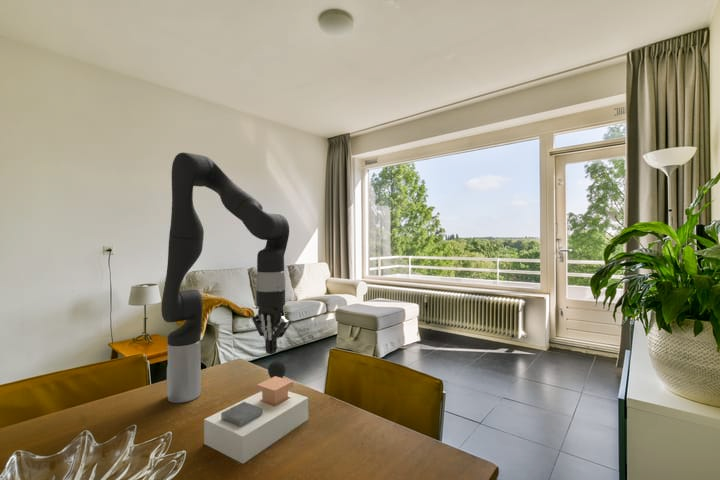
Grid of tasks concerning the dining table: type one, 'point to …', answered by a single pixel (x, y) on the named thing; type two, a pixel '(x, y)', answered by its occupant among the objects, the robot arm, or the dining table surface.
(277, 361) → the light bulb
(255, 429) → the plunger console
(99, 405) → the dining table surface
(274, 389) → the terracotta plunger
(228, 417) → the graphite plunger
